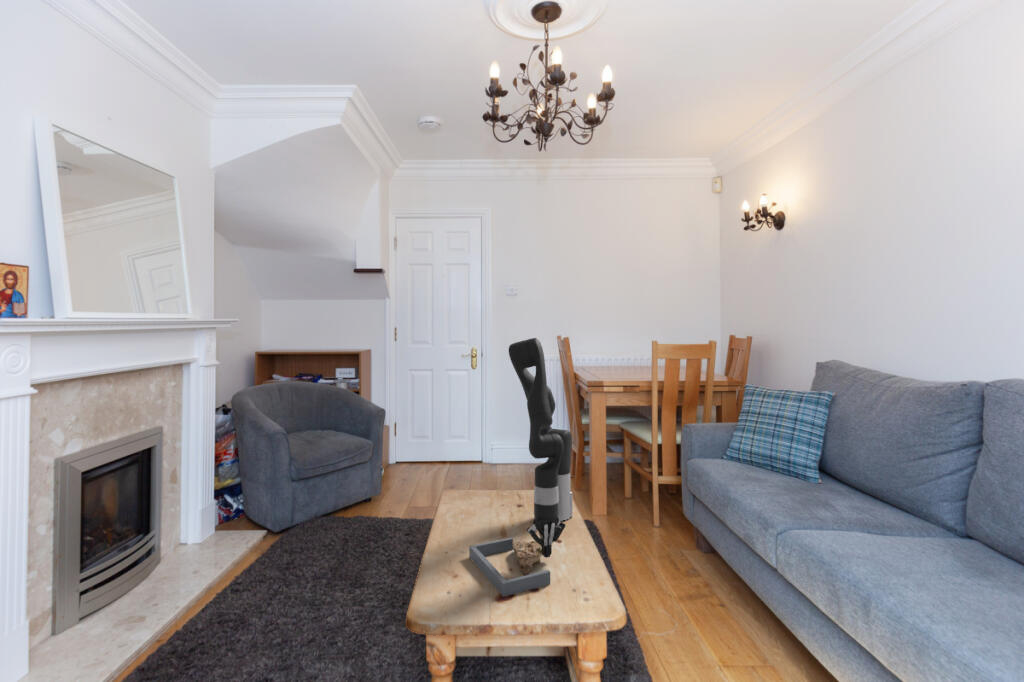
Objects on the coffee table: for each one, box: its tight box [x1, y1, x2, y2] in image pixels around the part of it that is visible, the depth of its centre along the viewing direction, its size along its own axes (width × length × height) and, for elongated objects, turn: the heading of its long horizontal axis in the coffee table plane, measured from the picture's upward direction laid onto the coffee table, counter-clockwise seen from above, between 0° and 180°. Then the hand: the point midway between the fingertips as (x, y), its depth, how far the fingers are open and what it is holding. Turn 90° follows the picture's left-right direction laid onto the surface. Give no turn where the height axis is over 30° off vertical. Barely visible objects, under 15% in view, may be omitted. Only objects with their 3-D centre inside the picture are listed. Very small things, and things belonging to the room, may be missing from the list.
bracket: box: [468, 537, 551, 597], centre depth 141 cm, size 14×25×4 cm, turn 26°
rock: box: [512, 540, 543, 575], centre depth 146 cm, size 17×5×10 cm
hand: (546, 556), depth 146 cm, fingers closed
